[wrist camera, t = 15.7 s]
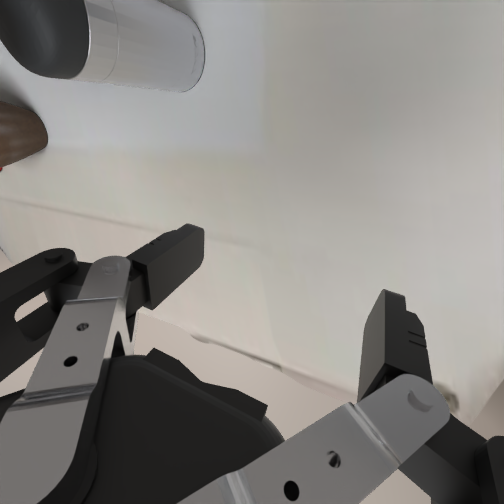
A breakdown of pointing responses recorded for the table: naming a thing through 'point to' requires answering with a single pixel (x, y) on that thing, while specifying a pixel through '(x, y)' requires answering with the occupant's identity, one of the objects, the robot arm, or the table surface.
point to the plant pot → (19, 133)
